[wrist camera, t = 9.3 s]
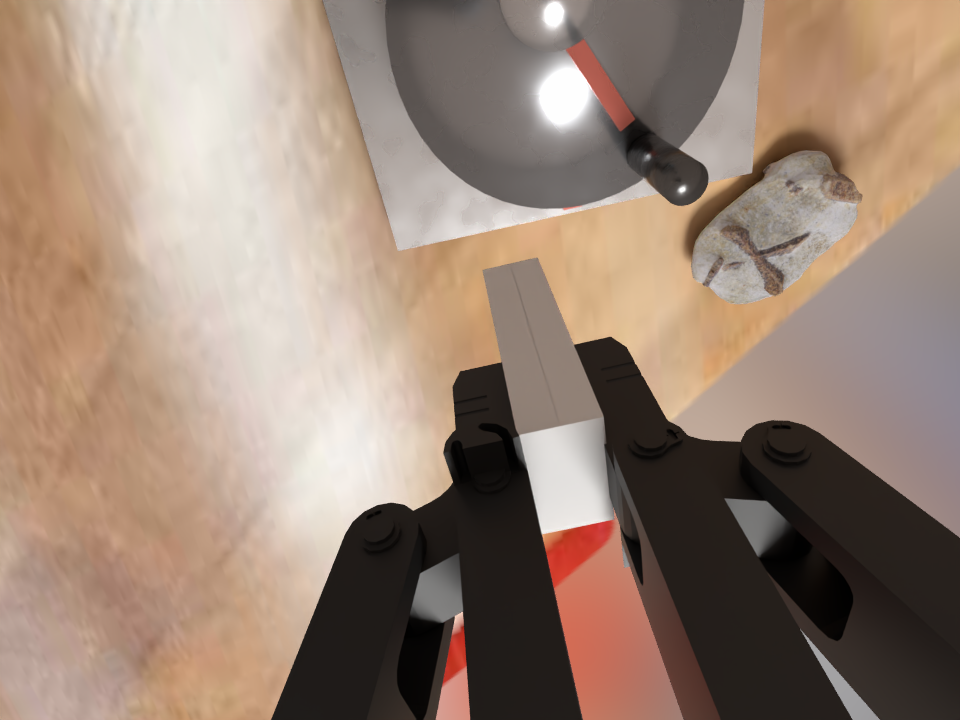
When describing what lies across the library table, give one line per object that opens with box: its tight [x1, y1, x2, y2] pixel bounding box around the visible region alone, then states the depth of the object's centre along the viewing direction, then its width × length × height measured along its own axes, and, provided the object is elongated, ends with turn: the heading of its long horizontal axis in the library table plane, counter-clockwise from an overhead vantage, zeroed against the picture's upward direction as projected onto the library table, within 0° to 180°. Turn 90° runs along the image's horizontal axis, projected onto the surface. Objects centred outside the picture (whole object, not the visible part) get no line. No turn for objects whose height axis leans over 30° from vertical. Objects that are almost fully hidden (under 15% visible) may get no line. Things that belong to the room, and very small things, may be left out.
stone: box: [691, 150, 862, 304], centre depth 34 cm, size 10×7×3 cm
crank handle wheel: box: [385, 0, 744, 209], centre depth 22 cm, size 15×15×8 cm
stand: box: [323, 0, 764, 251], centre depth 26 cm, size 20×20×4 cm
